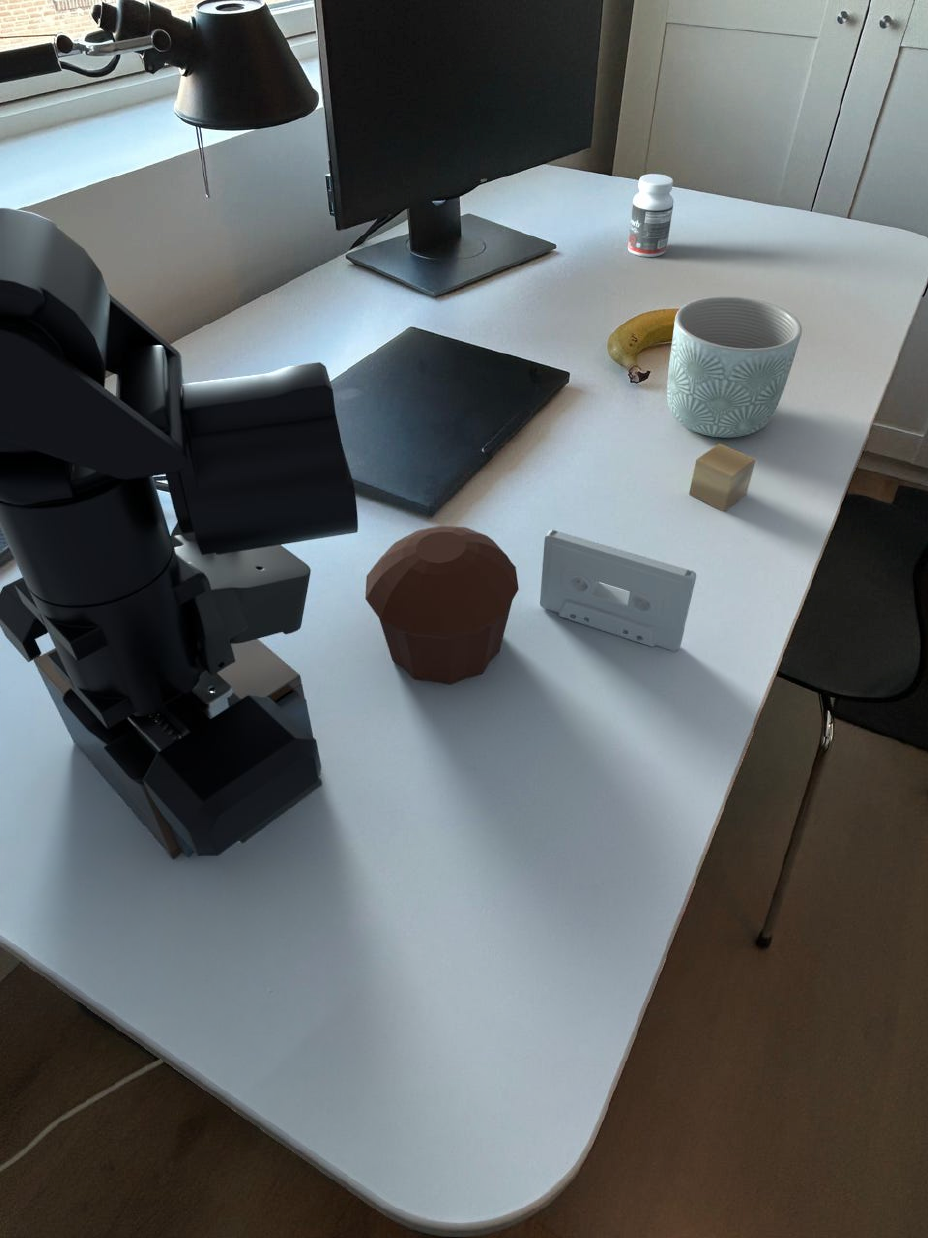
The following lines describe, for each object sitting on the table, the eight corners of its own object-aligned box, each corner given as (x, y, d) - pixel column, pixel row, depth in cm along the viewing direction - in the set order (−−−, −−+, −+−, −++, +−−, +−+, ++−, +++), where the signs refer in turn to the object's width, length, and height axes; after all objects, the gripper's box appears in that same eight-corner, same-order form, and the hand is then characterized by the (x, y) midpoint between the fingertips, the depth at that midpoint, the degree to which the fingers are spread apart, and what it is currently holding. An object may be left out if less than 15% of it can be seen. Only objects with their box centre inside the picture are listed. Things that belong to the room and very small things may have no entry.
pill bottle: (623, 243, 132) (632, 172, 125) (661, 242, 132) (671, 171, 125) (631, 258, 128) (640, 186, 121) (670, 257, 128) (681, 184, 121)
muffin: (452, 578, 76) (451, 482, 69) (545, 644, 70) (553, 547, 63) (342, 643, 71) (329, 546, 64) (433, 722, 65) (428, 624, 58)
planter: (635, 413, 96) (649, 317, 89) (709, 378, 102) (728, 285, 94) (725, 462, 89) (749, 363, 82) (799, 422, 95) (828, 325, 87)
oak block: (723, 511, 83) (732, 476, 80) (688, 494, 85) (695, 459, 82) (746, 494, 85) (756, 459, 82) (711, 477, 87) (719, 442, 84)
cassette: (536, 610, 73) (541, 537, 68) (545, 597, 74) (550, 524, 69) (676, 656, 69) (693, 583, 64) (683, 641, 71) (700, 568, 65)
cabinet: (317, 757, 62) (300, 675, 56) (173, 860, 56) (138, 779, 50) (210, 660, 69) (186, 577, 63) (73, 742, 63) (32, 659, 58)
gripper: (406, 573, 34) (421, 804, 45) (156, 403, 44) (218, 627, 55) (153, 730, 29) (239, 952, 39) (-69, 495, 38) (49, 725, 49)
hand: (187, 790), depth 46 cm, fingers closed
